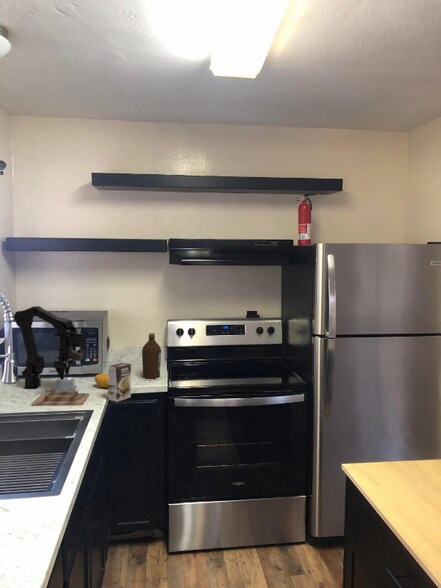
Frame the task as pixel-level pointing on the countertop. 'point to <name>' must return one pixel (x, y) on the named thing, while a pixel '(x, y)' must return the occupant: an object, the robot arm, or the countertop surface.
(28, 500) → the countertop surface
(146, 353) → the olive oil
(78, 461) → the countertop surface
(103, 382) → the potato
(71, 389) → the block
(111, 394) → the coffee box
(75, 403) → the brown wooden board
